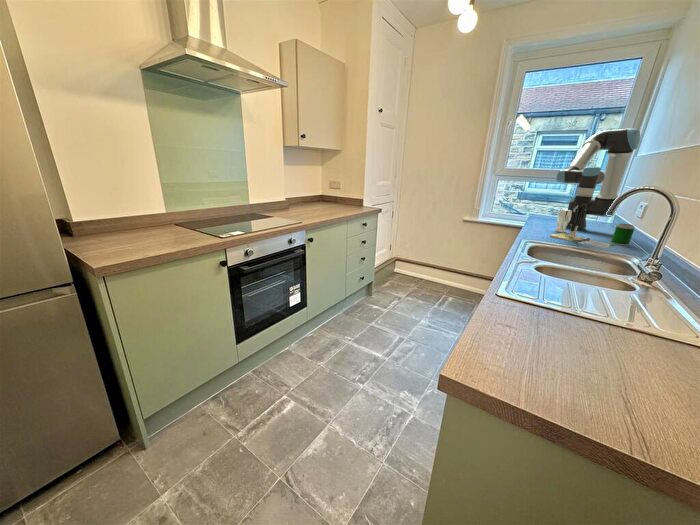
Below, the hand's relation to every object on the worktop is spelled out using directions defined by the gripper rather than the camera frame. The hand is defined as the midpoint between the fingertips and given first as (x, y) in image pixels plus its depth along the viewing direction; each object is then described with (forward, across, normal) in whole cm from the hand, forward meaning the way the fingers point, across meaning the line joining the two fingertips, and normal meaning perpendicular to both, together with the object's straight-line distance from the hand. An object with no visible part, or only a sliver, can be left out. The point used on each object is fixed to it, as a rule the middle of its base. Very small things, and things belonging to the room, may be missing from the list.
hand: (571, 236), depth 167 cm
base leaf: (+2, +1, +12) cm, 12 cm away
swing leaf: (+2, +1, 0) cm, 2 cm away
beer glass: (+3, -17, -14) cm, 22 cm away
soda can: (+3, -14, +18) cm, 23 cm away
